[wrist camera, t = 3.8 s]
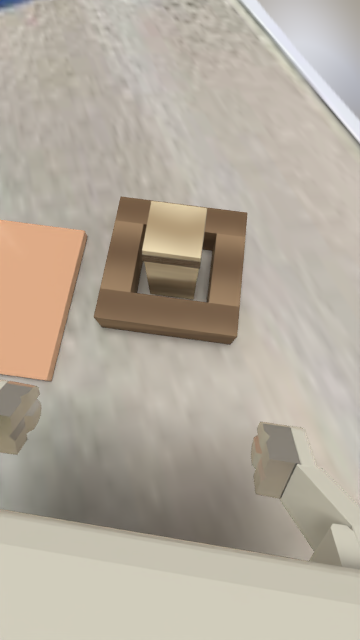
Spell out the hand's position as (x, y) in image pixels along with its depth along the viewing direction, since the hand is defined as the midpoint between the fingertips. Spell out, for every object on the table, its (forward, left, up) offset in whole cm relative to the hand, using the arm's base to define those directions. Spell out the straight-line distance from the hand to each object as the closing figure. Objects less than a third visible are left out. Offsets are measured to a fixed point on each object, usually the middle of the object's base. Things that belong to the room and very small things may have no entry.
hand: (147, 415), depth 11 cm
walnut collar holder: (+12, +1, -15) cm, 19 cm away
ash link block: (+12, +1, -15) cm, 19 cm away
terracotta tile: (+8, +17, -15) cm, 24 cm away
